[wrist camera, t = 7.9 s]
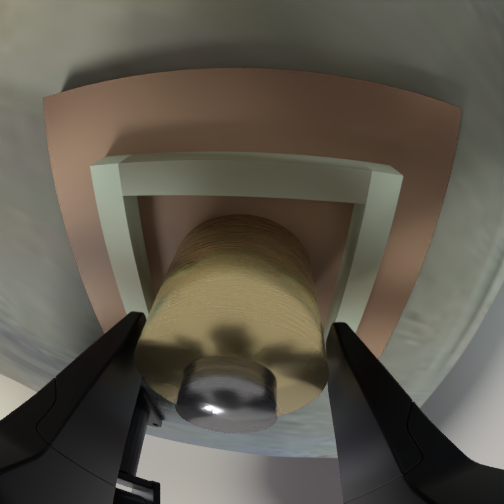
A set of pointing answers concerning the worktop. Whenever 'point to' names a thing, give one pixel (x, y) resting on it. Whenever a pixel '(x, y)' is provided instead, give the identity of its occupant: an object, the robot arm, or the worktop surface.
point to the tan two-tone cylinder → (235, 327)
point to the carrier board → (253, 180)
